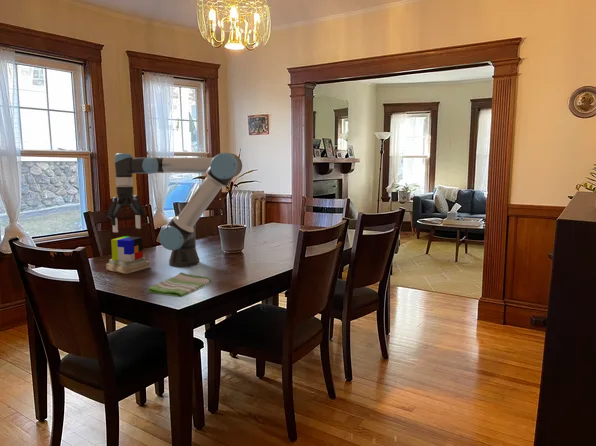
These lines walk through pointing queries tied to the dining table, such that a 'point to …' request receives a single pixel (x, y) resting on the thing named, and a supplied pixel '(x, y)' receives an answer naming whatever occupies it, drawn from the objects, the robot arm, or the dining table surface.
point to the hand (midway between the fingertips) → (127, 230)
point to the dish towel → (180, 285)
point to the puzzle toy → (127, 248)
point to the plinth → (128, 269)
